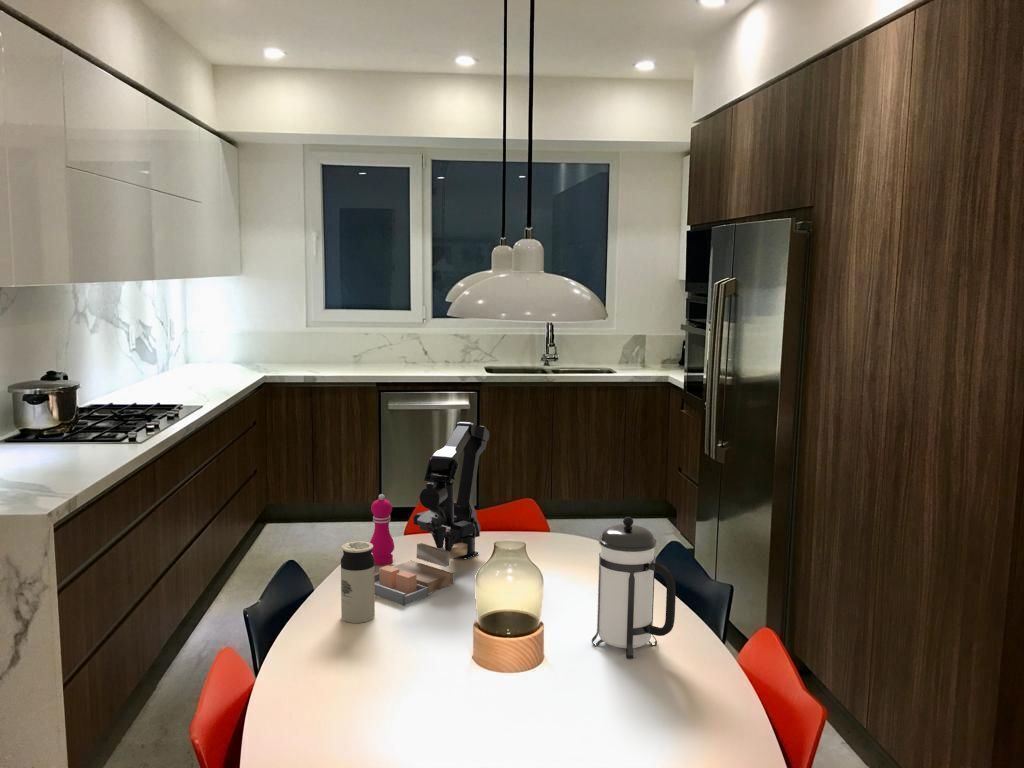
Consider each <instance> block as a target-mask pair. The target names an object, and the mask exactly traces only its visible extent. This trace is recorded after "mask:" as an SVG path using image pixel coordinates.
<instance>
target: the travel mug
mask: <svg viewBox="0 0 1024 768" xmlns="http://www.w3.org/2000/svg"><path fill="white" fill-rule="evenodd" d="M372 548H373V545H372V544H371V543H370V541H350V542H347V543H344V544H343V545H341V549H342V553H343V554H342V556H341V558H340V597H341V598H340V601H341V602H340V603H341V604H340V605H341V606H340V607H341V609H340V612H341V614H340V615H341V617H340V618H341V619H342V620H343V621H345V622H347V623H351V624H361V623H362V624H363V623H366V622H368V621H371V620H373V619H374V617H376V616H375V615H376V613H375V612H376V610H375V606H376V605H375V603H376V602H375V597H376V596H375V584H374V574H375V564H374V557H373V555H372V553H371V552H372Z"/></svg>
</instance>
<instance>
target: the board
mask: <svg viewBox="0 0 1024 768" xmlns="http://www.w3.org/2000/svg"><path fill="white" fill-rule="evenodd" d="M393 567H394V568H398V569H399V573H400V572H403V571H406V572H410V573H413V574H416V575H417V584H419V585H423V586H426V587H429V594H431V592H432V593H434V592H436V590H437V591H438V590H439V591H440V590H441V588H442V589H444V588H447V587H449V586H451V584H452V585H454V572H450V571H447V570H444V569H440V568H437V567H434V566H431V565H428V564H425V563H422V562H421V563H420V562H418V561H415V560H412V559H411V560H409V561H406V562H402V563H400V564H397V565H395V566H393ZM446 586H447V587H446Z"/></svg>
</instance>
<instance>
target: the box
mask: <svg viewBox="0 0 1024 768" xmlns="http://www.w3.org/2000/svg"><path fill="white" fill-rule="evenodd" d="M374 584H375V595H376V596H375V597H378V596H379V598H381V599H383V600H384V599H385V600H386V599H387V600H386V601H390V602H393V603H395V604H398V605H401V606H403V607H405V606H406V605H409V604H412V603H414V602H417V601H420V600H421V599H423V598H426V597H428V596H429V597H430V593H429V587H426V586H423V585H419V584H417V591H416V592H413V593H410V594H405V593H402V592H400V591H397V590H396V587H394V588H388V587H385V586H382V585H380V584H379V572H377V573H374Z"/></svg>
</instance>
